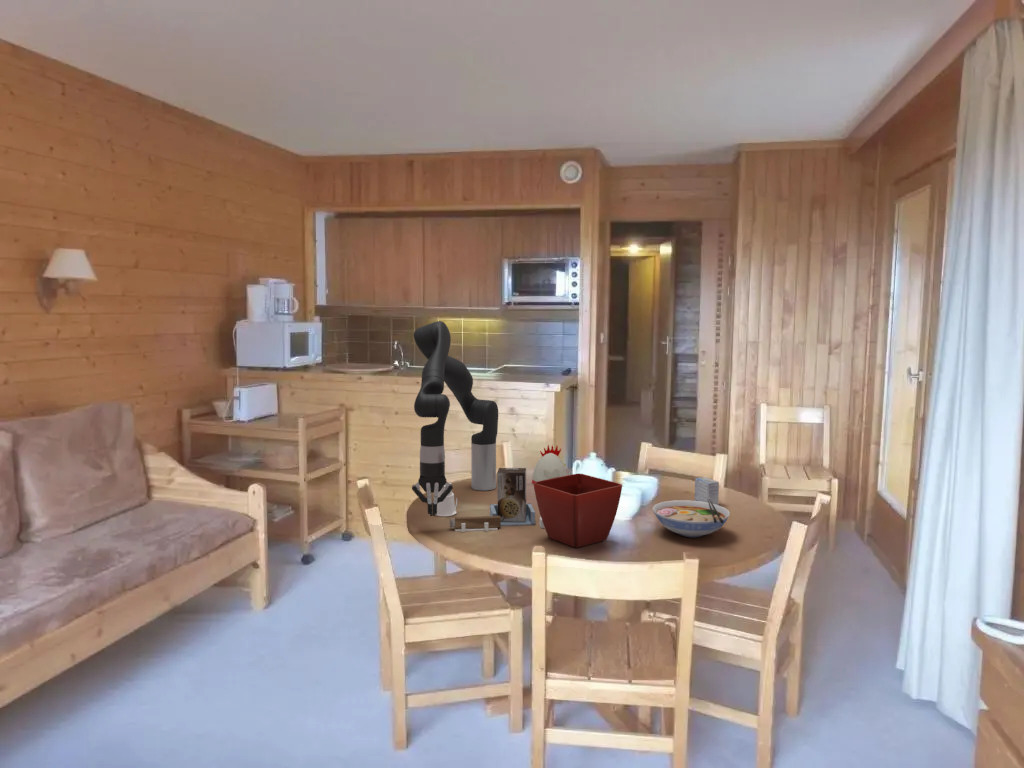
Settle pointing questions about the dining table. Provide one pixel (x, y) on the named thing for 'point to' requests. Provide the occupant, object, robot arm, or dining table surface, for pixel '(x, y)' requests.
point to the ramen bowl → (691, 517)
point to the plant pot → (577, 508)
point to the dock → (529, 521)
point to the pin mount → (488, 528)
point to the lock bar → (476, 522)
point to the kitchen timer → (549, 466)
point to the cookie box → (511, 494)
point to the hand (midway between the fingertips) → (432, 515)
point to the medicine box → (706, 490)
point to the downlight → (446, 504)
